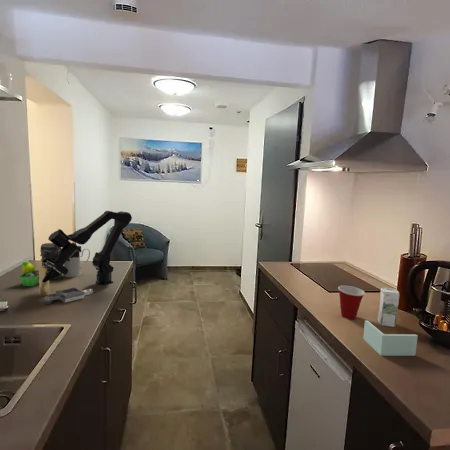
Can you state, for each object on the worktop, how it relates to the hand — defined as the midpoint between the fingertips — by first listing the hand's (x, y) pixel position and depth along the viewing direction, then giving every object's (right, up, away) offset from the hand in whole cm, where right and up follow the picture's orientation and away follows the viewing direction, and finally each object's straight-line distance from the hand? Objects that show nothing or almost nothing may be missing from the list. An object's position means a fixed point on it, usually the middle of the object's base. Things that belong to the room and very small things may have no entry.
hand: (40, 280), depth 154 cm
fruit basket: (-14, -4, +17) cm, 23 cm away
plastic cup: (+135, -14, -10) cm, 136 cm away
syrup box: (+148, -15, -16) cm, 150 cm away
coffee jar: (-9, -3, +28) cm, 29 cm away
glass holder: (+1, -2, +36) cm, 37 cm away
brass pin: (+1, -7, +2) cm, 7 cm away
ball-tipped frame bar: (+14, -8, -1) cm, 16 cm away
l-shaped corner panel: (+140, -18, -35) cm, 145 cm away
